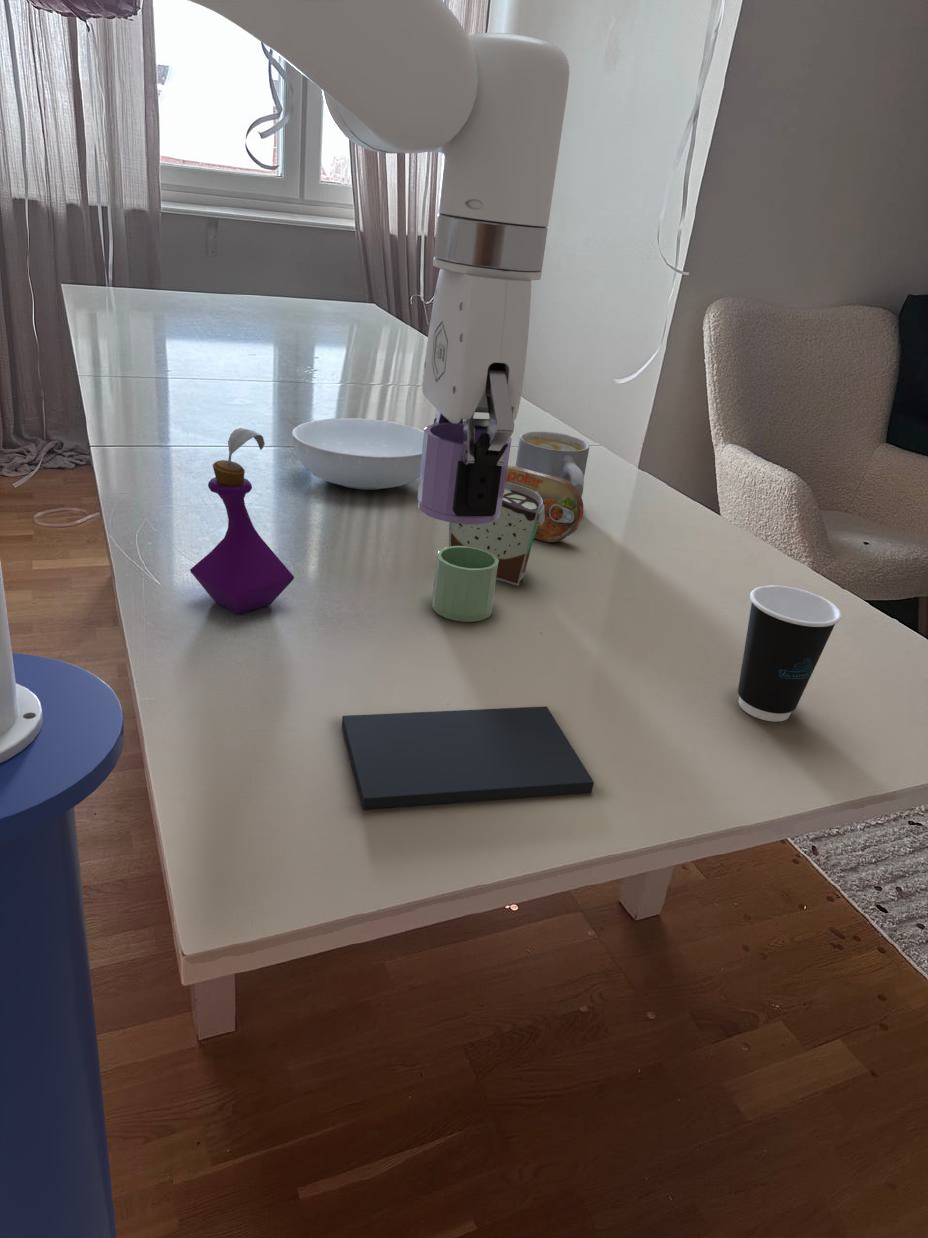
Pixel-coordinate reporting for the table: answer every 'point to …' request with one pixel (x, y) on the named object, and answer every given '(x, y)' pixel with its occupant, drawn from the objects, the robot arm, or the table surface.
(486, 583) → the sage cup
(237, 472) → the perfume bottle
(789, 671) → the dixie cup
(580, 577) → the table surface
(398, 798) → the placemat
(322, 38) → the robot arm
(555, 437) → the coffee mug
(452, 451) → the lavender cup
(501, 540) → the food container
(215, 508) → the table surface
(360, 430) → the serving bowl
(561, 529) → the tin
